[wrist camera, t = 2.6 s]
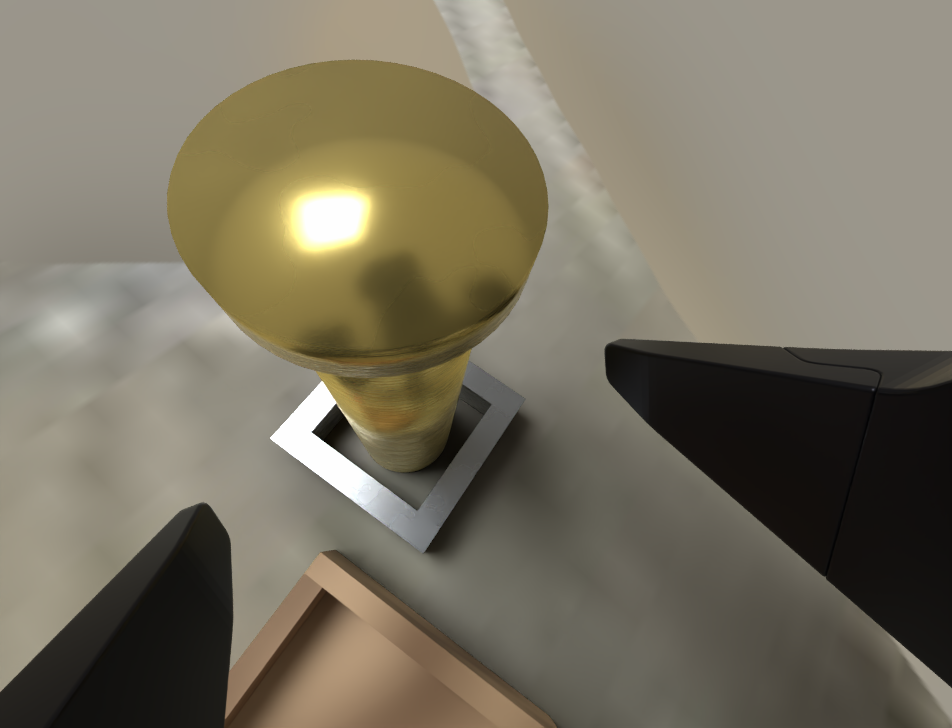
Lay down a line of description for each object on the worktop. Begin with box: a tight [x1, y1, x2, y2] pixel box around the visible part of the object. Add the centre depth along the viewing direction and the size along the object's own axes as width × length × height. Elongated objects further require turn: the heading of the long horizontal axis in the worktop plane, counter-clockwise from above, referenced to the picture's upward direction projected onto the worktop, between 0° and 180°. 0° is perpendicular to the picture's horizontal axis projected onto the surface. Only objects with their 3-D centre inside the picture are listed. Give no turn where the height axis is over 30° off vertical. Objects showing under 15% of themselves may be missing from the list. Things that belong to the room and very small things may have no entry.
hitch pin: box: [167, 60, 548, 472], centre depth 13 cm, size 5×5×15 cm
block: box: [270, 360, 525, 553], centre depth 19 cm, size 8×8×2 cm
